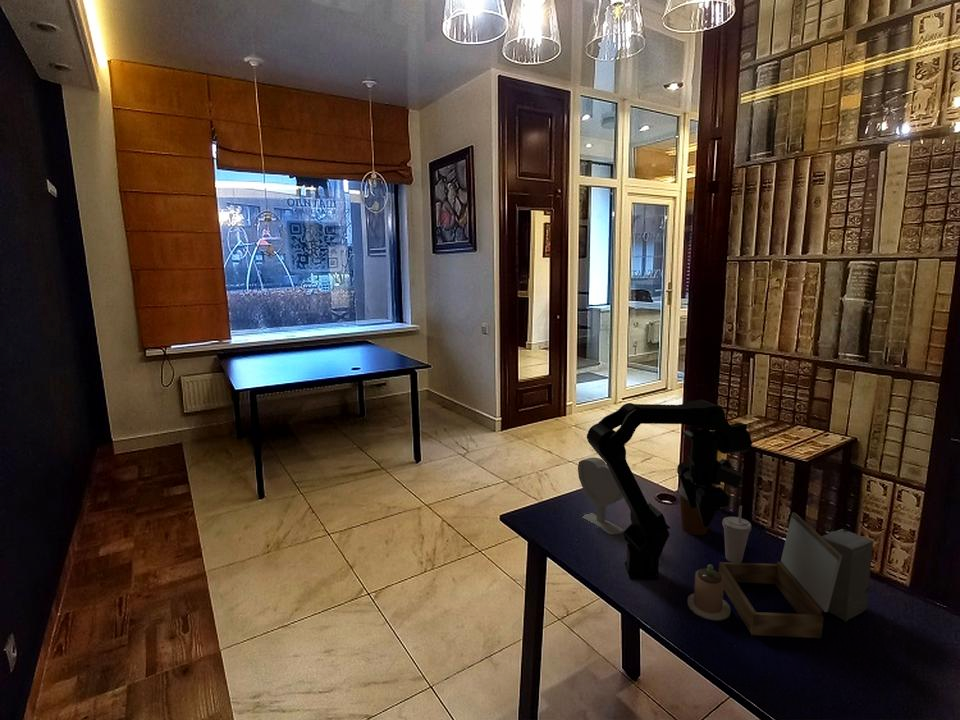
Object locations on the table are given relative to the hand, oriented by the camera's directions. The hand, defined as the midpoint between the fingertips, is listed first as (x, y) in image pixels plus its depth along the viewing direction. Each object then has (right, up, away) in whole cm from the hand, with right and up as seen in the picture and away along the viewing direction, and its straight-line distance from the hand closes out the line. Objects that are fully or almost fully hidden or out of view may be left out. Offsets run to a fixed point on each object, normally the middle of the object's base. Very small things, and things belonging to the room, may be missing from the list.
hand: (699, 516), depth 123 cm
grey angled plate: (+16, -4, -16) cm, 23 cm away
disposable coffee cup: (+7, -9, +19) cm, 22 cm away
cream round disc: (-4, -15, -13) cm, 20 cm away
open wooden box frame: (+10, -15, -13) cm, 22 cm away
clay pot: (-4, -15, -13) cm, 20 cm away
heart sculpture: (-18, -9, +23) cm, 30 cm away
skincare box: (+24, -15, -13) cm, 31 cm away
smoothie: (+10, -12, +5) cm, 16 cm away
